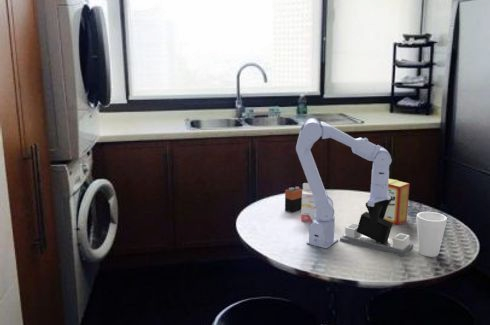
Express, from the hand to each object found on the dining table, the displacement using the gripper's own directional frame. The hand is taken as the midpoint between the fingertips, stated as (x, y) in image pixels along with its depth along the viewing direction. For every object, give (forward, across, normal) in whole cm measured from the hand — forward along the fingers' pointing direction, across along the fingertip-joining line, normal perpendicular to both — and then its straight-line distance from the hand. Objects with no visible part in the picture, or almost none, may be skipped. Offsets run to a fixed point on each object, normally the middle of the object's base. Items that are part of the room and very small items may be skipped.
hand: (377, 220), depth 174 cm
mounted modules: (+7, 0, 0) cm, 7 cm away
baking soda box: (+9, +26, +4) cm, 28 cm away
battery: (+9, +14, +42) cm, 45 cm away
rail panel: (+9, 0, 0) cm, 9 cm away
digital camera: (+6, 0, +1) cm, 6 cm away
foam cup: (+9, +3, -17) cm, 20 cm away
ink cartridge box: (+9, +8, +30) cm, 32 cm away
